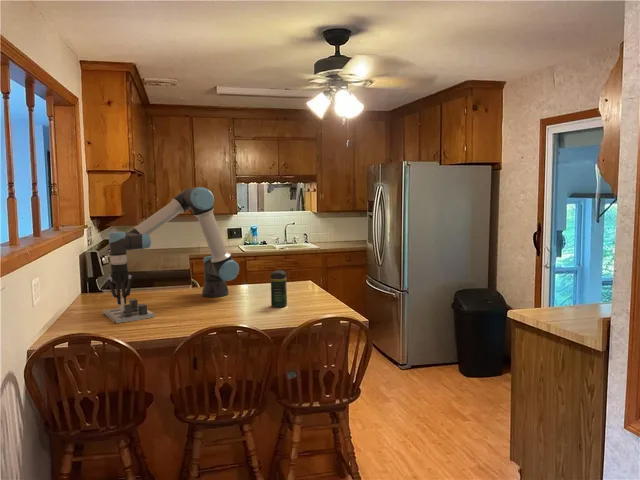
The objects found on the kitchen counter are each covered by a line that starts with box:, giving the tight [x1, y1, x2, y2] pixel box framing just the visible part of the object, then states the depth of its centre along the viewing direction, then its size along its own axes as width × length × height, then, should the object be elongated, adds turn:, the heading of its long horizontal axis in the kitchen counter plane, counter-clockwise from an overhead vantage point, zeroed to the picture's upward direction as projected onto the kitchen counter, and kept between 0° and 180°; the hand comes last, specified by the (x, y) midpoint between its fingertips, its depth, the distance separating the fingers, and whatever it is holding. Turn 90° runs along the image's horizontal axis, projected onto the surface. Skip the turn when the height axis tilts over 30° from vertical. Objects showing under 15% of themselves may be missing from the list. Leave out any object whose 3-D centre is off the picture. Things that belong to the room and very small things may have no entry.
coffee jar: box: [270, 269, 288, 309], centre depth 266 cm, size 10×8×19 cm
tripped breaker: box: [123, 302, 132, 313], centre depth 253 cm, size 4×3×4 cm
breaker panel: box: [102, 298, 155, 324], centre depth 254 cm, size 24×18×6 cm
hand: (122, 310), depth 252 cm, fingers closed
